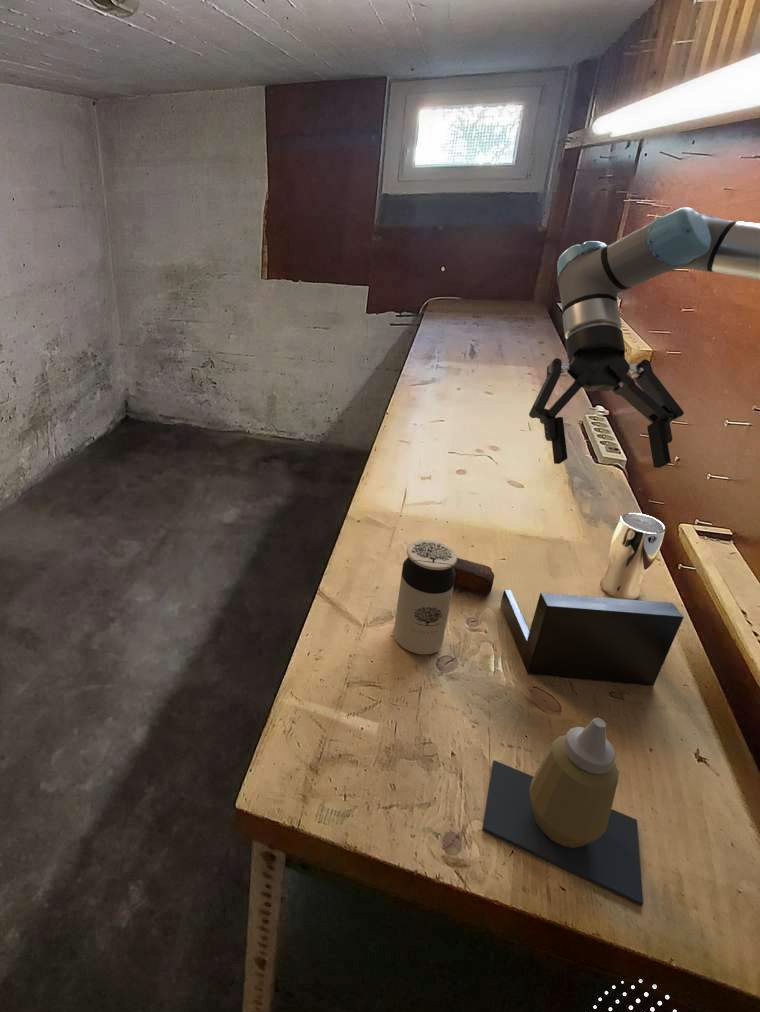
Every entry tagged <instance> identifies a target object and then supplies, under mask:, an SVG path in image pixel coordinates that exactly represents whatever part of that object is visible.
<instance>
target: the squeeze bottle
mask: <svg viewBox="0 0 760 1012" xmlns="http://www.w3.org/2000/svg"><path fill="white" fill-rule="evenodd" d="M606 735H607V723H606V722H605V721H604V720H603V719H601V718H600V717H594V718H593V719H592V720H591V721H590V722H589V723H588V724H587V725H586V727H583V726H576V727H572V728H570V729H569V730H568V731H567V732H566V734H564V735H559V736H558V737H557V738H555V740H554V741H552V744H551V745H550V747H549V749H548V751H547V752H546V754H545V755H544V757H543V759H542V760H541V763H540V765H539V767H538V768H537V769H536V771H535V774H534V775H533V779H532V781H531V785H530V789H529V793H530V798H531V803H532V808H533V813H534V817H535V821H536V823H537V824H538V826H539V827H540V829H541V831H542V832H543V833H544V834H545V835H547V836H548V837H549V838H550V839H551V840H552V841H554V842H556V843H558V844H560V845H562V846H565V847H570V848H577V847H581V846H584V845H586V844H588V843H590V842H592V841H595V840H597V839H599V838H600V837H601V836H602V834H603V833H604V832H605V831H606V830H607V825H608V821H609V817H610V813H611V809H613V804H614V799H615V795H616V791H617V787H618V782H619V777H620V776H619V774H620V771H619V769H618V766H617V764H616V752H615V748H614V746H613V745H612V744H611V742H609V740H608V739H607V738H606V737H607V736H606Z"/></svg>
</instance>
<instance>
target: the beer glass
mask: <svg viewBox="0 0 760 1012" xmlns="http://www.w3.org/2000/svg"><path fill="white" fill-rule="evenodd" d="M666 530H667V528H666V525H665V524H664V523H663V521H660V520H659V519H657V518H655V517H654V516H650V515H647V514H644V513H638V512H626V513H624V514H622V515H621V516H620V518H619V520H618V522H617V525H616V527H615V529H614V531H613V534H612V537H611V541H610V545H609V546H610V547H609V555H608V567H607V570H606V572H605V574H604V575H603V577H602V578H601V580H600V582H599V586H600V588H601V590H602V591H603V592H605V593H606V594H607V595H608V596H611V597H612V598H616V599H629V600H637V598H639V597H640V591H641V583H642V580H643V578H644V576H645V575H646V573H647V572H648V570H649V569H650V567H651V566H652V565H653V563H654V562H655V560H656V558H657V557H658V555H659V552H660V550H661V547H662V544H663V541H664V536H665V532H666Z"/></svg>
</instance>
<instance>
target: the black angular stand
mask: <svg viewBox="0 0 760 1012" xmlns="http://www.w3.org/2000/svg"><path fill="white" fill-rule="evenodd" d="M539 593H540V594H539V597H538V600H537V603H536V607H535V611H534V614H533V618H532V621H531V625H530V628H529V627H528V625H527V623H526V619H525V618H524V616H523V614H522V611H521V609H520V608H519V607H520V606H519V605H518V602H517V600H516V598H515V596H514V593H513V591H512V589H504V590H503V593H502V597H501V601H500V605H499V608H500V610H501V612H502V615H503V617H504V620H505V622H506V625H507V627H508V630H509V632H510V635H511V637H512V640H513V642H514V645H515V647H516V649H517V652H518V654H519V657H520V660H521V662H522V664H523V666H524V669H525V672H526V674H527V675H533V676H542V677H554V678H563V679H574V680H585V681H595V682H604V683H612V684H613V683H616V684H624V685H634V686H643V687H644V686H646V687H654V686H655V684H656V683H657V679H658V677H659V675H660V672H661V670H662V668H663V665H664V663H665V661H666V658H667V656H668V654H669V652H670V649H671V647H672V645H673V643H674V641H675V639H676V636H677V634H678V631H679V629H680V627H681V624H682V623H683V620H684V616H683V614H682V613H681V612H680V610H678V608H677V606H676V605H675V604H674V603H673V602H667V601H653V600H642V599H641V600H639V599H634V600H629V599H618V598H615V597H607V596H606V597H600V596H590V595H588V596H587V595H575V594H562V593H549V592H539Z"/></svg>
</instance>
